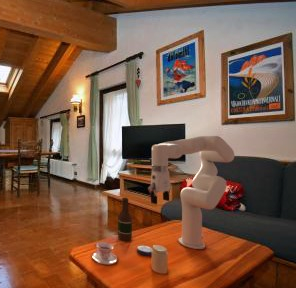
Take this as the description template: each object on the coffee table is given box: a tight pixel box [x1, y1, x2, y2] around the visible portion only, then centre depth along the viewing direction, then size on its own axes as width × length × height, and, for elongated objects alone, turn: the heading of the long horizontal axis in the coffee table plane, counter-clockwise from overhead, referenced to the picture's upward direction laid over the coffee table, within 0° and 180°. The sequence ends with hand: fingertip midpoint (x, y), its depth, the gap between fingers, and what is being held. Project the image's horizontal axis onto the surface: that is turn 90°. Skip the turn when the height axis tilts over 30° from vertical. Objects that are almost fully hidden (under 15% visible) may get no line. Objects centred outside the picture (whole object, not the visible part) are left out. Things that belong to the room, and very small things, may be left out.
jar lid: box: [136, 244, 153, 257], centre depth 111 cm, size 7×7×2 cm
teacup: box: [91, 241, 118, 265], centre depth 105 cm, size 12×12×6 cm
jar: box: [150, 244, 169, 275], centre depth 97 cm, size 7×7×10 cm
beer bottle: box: [117, 197, 133, 243], centre depth 127 cm, size 8×8×24 cm
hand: (160, 201), depth 111 cm, fingers open, 9 cm apart
